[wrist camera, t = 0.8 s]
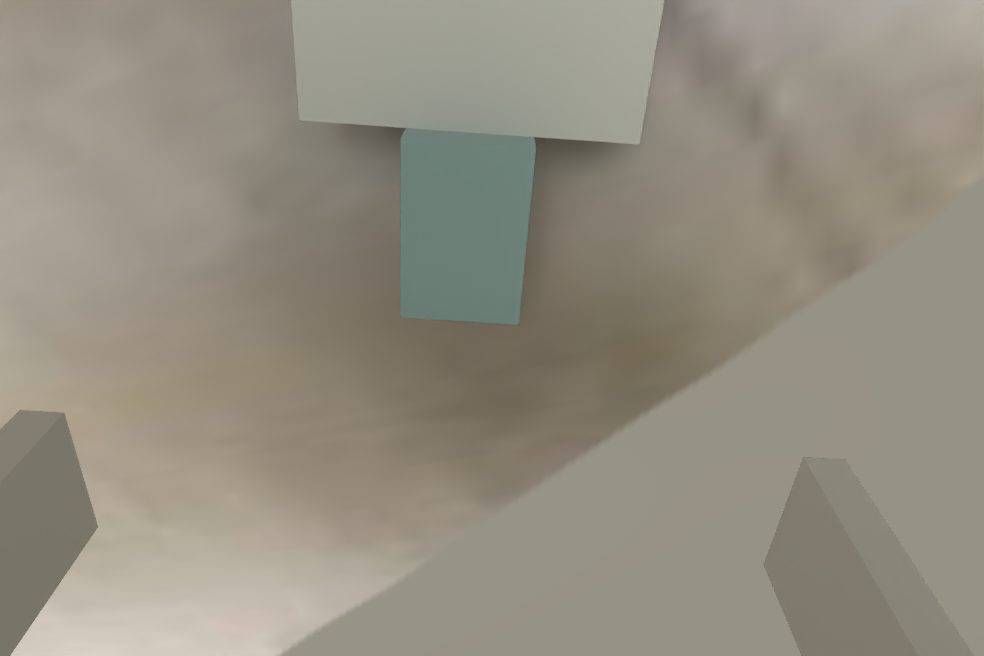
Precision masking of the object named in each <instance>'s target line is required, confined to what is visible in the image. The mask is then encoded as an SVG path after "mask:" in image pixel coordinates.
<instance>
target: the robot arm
mask: <svg viewBox="0 0 984 656" xmlns="http://www.w3.org/2000/svg"><path fill="white" fill-rule="evenodd" d="M97 528H98V525H97V522H96V518H95V515H94V512H93V508H92V505H91V502H90V498H89V495H88V491H87V488H86V485H85V481H84V478H83V475H82V471H81V468H80V464H79V461H78V458H77V454H76V451H75V447H74V444H73V441H72V437H71V434H70V431H69V427H68V424H67V420H66V417H65V414H64V413H59V412H42V411H26V410H20V411H19V412H18V413H17V414H16V415H15V416H14V417H13V418H12V419H11V420H10V421H9V422H8V423H6V424H5V425H4V426H3V427H2V428H1V429H0V656H10V655H11V654H12V652H13V651H14V649H15V648H16V646H17V645H18V643H19V642H20V640H21V639H22V637H23V636H24V635H25V633H26V632H27V630H28V629H29V627H30V626H31V624H32V623H33V621H34V620H35V618H36V617H37V615H38V614H39V613H40V611H41V610H42V608H43V607H44V605H45V604H46V602H47V601H48V599H49V598H50V596H51V595H52V594H53V592H54V591H55V589H56V588H57V586H58V585H59V583H60V582H61V580H62V579H63V577H64V576H65V574H66V573H67V572H68V570H69V569H70V567H71V566H72V564H73V563H74V561H75V560H76V558H77V557H78V555H79V554H80V553H81V551H82V550H83V548H84V547H85V545H86V544H87V542H88V541H89V539H90V538H91V536H92V535H93V533H94V532H95V531H96V529H97ZM764 566H765V569H766V571H767V574H768V576H769V579H770V581H771V583H772V586H773V588H774V591H775V593H776V595H777V598H778V600H779V603H780V605H781V607H782V610H783V612H784V615H785V617H786V619H787V622H788V624H789V627H790V629H791V631H792V634H793V636H794V639H795V641H796V644H797V646H798V648H799V651H800V653H801V656H974V655H973V653H972V652H971V651H970V649H969V647H968V646H967V644H966V643H965V641H964V640H963V638H962V637H961V635H960V634H959V632H958V631H957V629H956V628H955V626H954V625H953V623H952V621H951V620H950V618H949V617H948V615H947V614H946V612H945V611H944V609H943V608H942V606H941V605H940V603H939V602H938V600H937V599H936V597H935V596H934V594H933V593H932V591H931V589H930V588H929V586H928V585H927V584H926V582H925V580H924V579H923V577H922V576H921V574H920V573H919V571H918V570H917V568H916V567H915V565H914V563H913V562H912V560H911V559H910V557H909V556H908V554H907V553H906V551H905V550H904V548H903V547H902V545H901V544H900V542H899V541H898V539H897V538H896V536H895V535H894V533H893V532H892V530H891V528H890V527H889V525H888V524H887V522H886V521H885V519H884V518H883V516H882V515H881V513H880V512H879V510H878V508H877V507H876V506H875V504H874V502H873V501H872V499H871V498H870V497H869V495H868V493H867V492H866V490H865V489H864V487H863V486H862V484H861V483H860V481H859V480H858V478H857V476H856V475H855V473H854V472H853V470H852V469H851V467H850V466H849V464H848V463H847V461H846V460H843V459H827V458H810V457H803V460H802V462H801V465H800V468H799V470H798V473H797V476H796V478H795V481H794V484H793V486H792V489H791V492H790V495H789V498H788V500H787V503H786V506H785V509H784V511H783V514H782V516H781V519H780V522H779V524H778V527H777V530H776V532H775V535H774V538H773V540H772V543H771V546H770V549H769V552H768V554H767V557H766V559H765V562H764Z"/></svg>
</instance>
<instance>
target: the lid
mask: <svg viewBox="0 0 984 656" xmlns="http://www.w3.org/2000/svg"><path fill="white" fill-rule="evenodd" d="M663 5H664V0H291V12H292V26H293V41H294V55H295V70H296V84H297V98H298V113H299V121H313V122H328V123H342V124H356V125H370V126H384V127H399V128H406V129H405V131H404V133H403V135H402V137H401V148H400V318H416V319H431V320H447V321H463V322H478V323H494V324H509V325H519V318H520V307H521V297H522V287H523V277H524V267H525V257H526V246H527V236H528V226H529V216H530V206H531V196H532V185H533V175H534V165H535V155H536V144H535V138H534V137H541V138H555V139H569V140H583V141H597V142H612V143H626V144H640V139H641V133H642V128H643V122H644V116H645V110H646V104H647V99H648V93H649V87H650V81H651V75H652V69H653V64H654V58H655V52H656V46H657V40H658V35H659V29H660V23H661V17H662V11H663Z"/></svg>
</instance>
